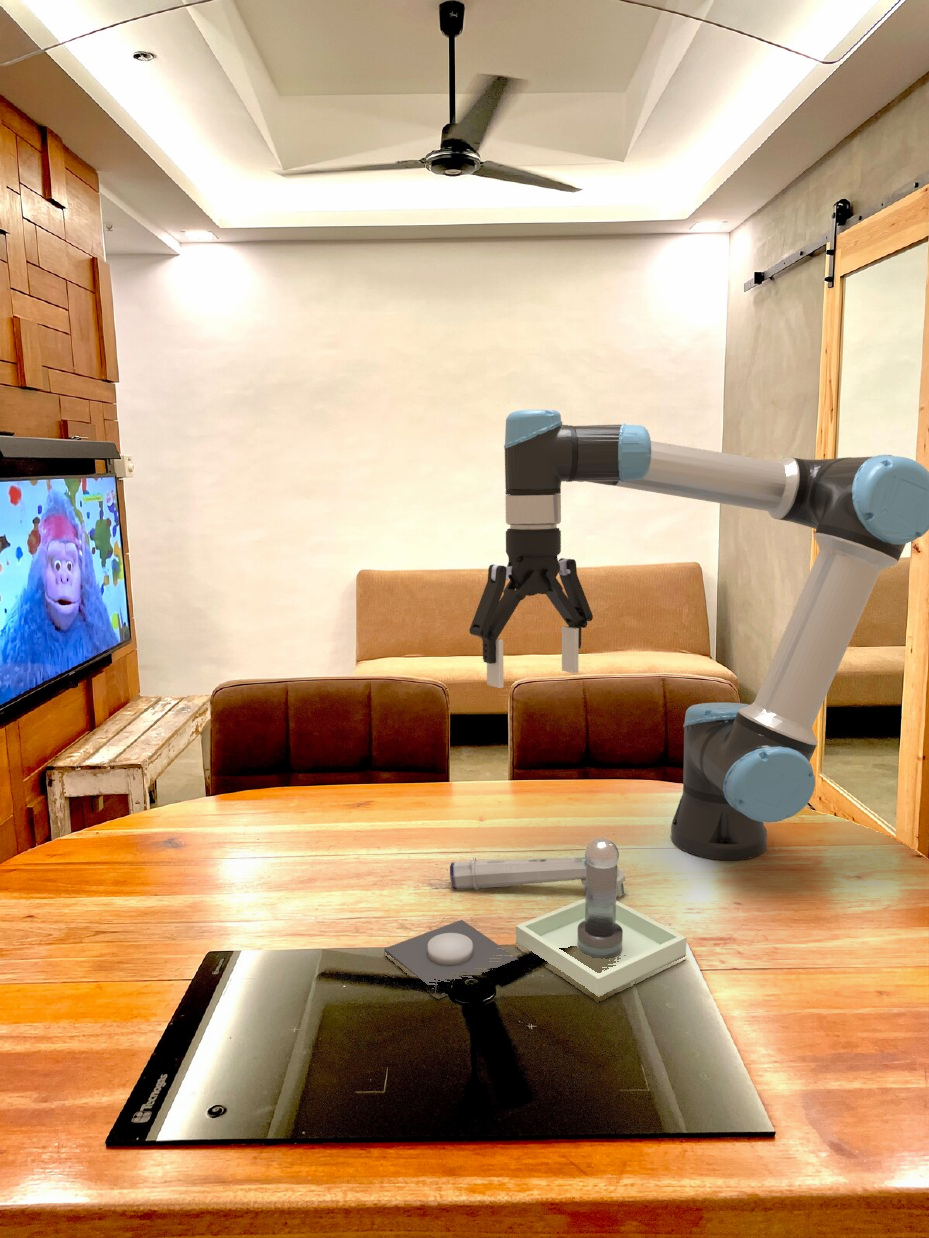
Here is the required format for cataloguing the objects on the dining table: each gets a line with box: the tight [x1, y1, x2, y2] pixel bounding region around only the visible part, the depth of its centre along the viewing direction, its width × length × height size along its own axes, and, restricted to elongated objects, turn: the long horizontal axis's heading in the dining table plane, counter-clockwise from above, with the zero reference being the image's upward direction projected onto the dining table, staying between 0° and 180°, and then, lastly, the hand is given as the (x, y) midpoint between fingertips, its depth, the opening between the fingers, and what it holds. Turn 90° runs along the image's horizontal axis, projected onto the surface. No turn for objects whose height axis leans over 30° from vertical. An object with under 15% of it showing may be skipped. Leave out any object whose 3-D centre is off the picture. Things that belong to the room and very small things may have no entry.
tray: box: [515, 898, 687, 997], centre depth 110 cm, size 15×15×3 cm
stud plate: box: [384, 919, 519, 989], centre depth 109 cm, size 12×12×2 cm
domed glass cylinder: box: [577, 837, 623, 959], centre depth 109 cm, size 6×6×14 cm
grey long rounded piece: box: [449, 856, 627, 898], centre depth 127 cm, size 5×7×25 cm
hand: (533, 678), depth 122 cm, fingers open, 13 cm apart
